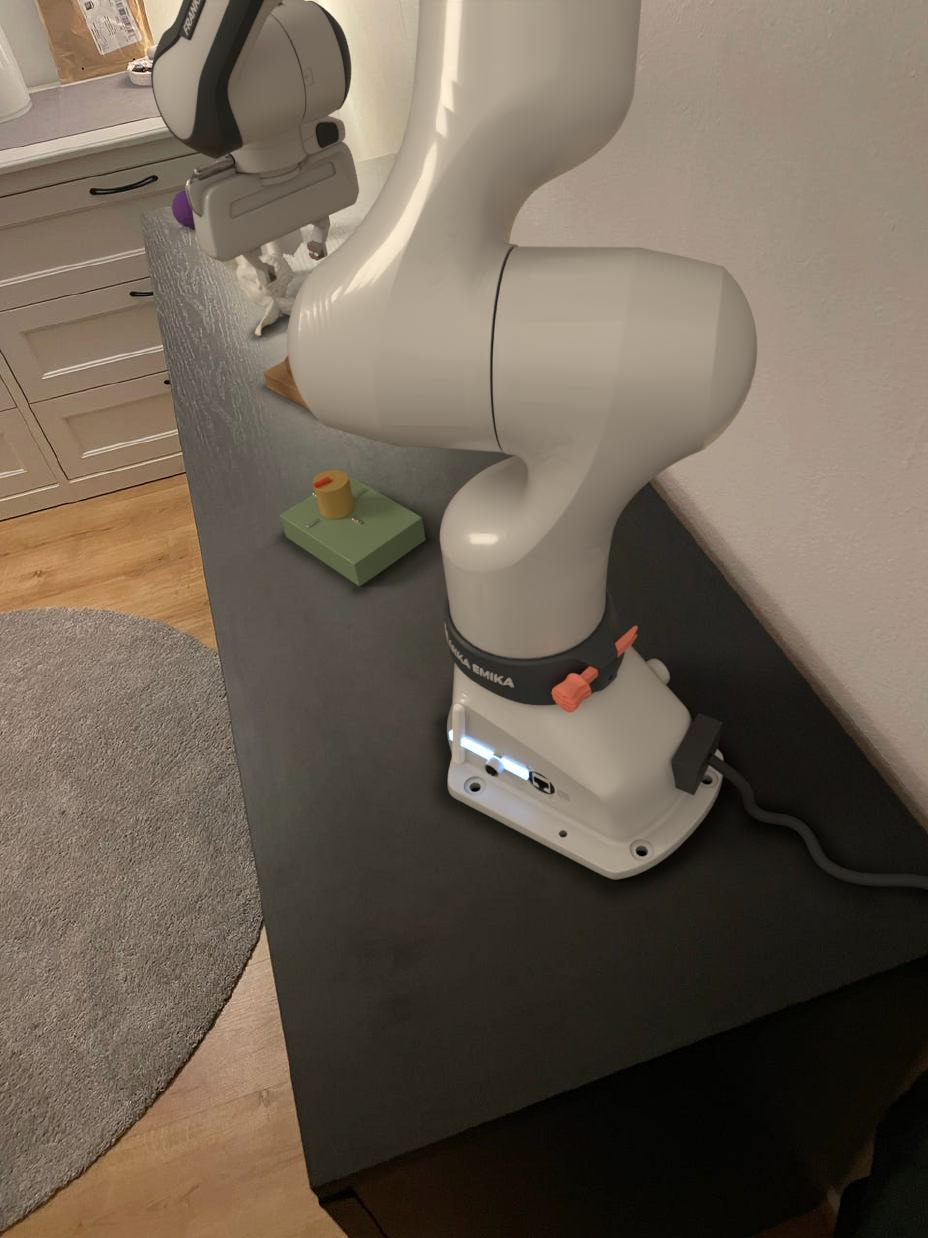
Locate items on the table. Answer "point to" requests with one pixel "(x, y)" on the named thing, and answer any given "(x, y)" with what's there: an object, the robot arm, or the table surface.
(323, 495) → the tap knob
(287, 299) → the angel figurine
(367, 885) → the table surface
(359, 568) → the dial panel
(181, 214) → the kendama
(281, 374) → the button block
